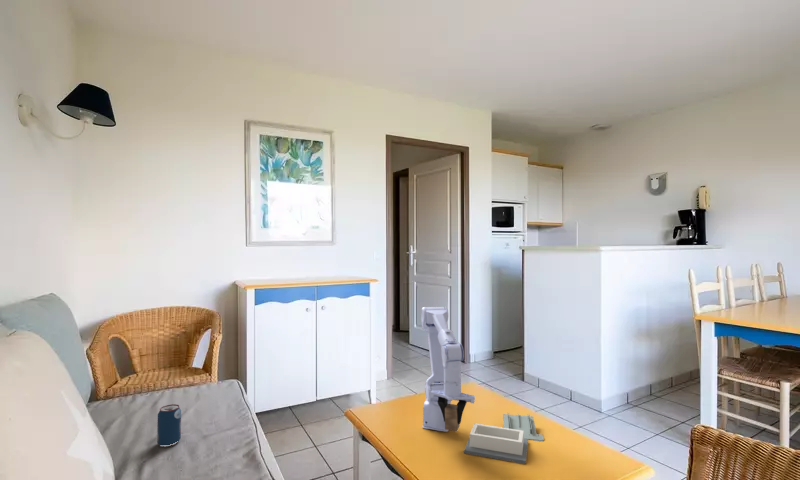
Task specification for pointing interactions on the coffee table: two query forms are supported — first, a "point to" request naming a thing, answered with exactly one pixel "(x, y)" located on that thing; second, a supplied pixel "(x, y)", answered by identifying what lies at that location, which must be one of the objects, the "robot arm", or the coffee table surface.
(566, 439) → the coffee table surface
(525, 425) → the metal bracket
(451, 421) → the walnut block
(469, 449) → the well
